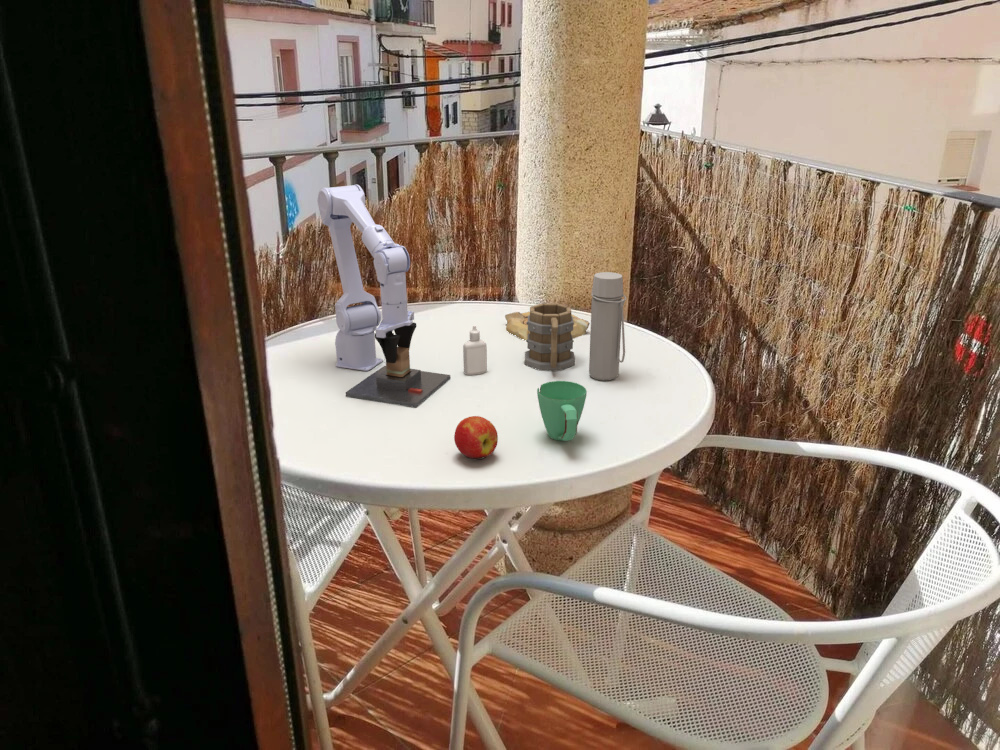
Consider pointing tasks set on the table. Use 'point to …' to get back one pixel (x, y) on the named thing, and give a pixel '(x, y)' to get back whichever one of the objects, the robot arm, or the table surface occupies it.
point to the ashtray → (520, 329)
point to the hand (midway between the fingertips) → (397, 357)
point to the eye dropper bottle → (475, 354)
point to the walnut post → (399, 363)
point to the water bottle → (606, 326)
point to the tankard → (550, 337)
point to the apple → (476, 437)
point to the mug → (561, 408)
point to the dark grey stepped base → (399, 387)
